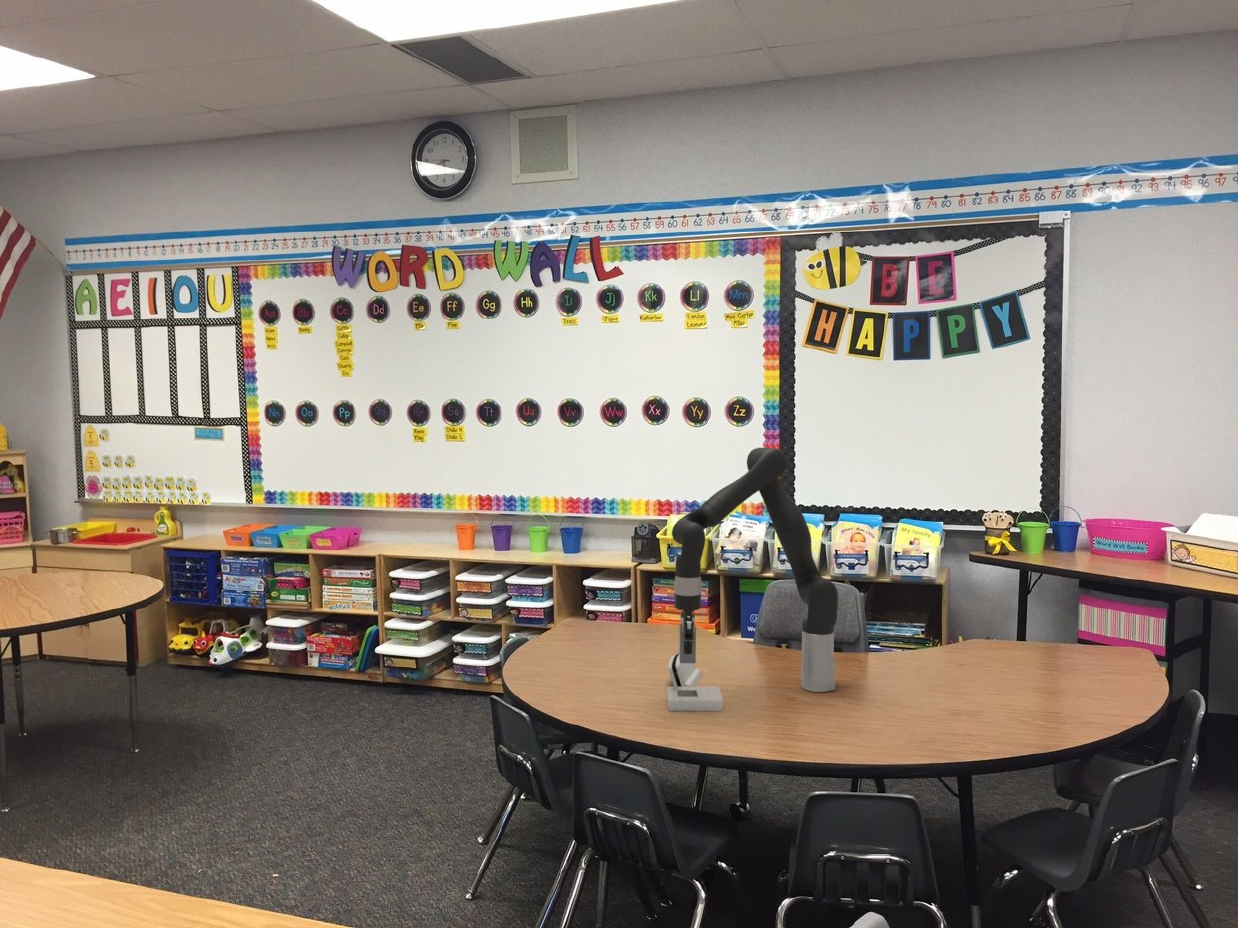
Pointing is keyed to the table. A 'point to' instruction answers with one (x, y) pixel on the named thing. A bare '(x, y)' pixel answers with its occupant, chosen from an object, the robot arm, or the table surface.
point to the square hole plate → (694, 699)
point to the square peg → (683, 657)
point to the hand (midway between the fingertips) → (687, 651)
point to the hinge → (683, 673)
